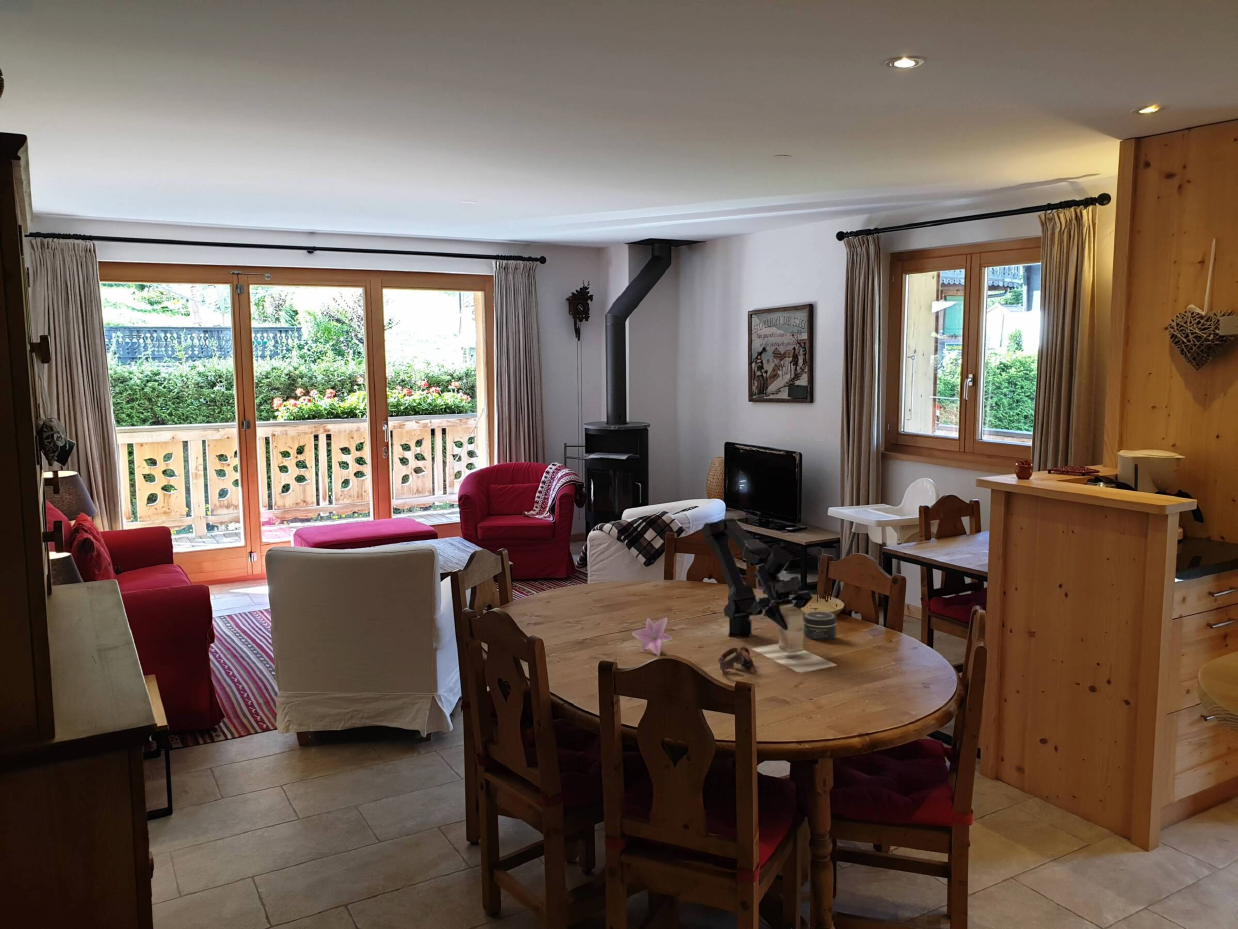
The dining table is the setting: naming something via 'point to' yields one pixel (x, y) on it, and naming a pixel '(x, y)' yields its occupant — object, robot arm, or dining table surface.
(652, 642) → the lily
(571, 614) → the dining table surface
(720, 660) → the brown looped strap
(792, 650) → the beige tall block
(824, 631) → the jar
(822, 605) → the plant saucer
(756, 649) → the birch board
